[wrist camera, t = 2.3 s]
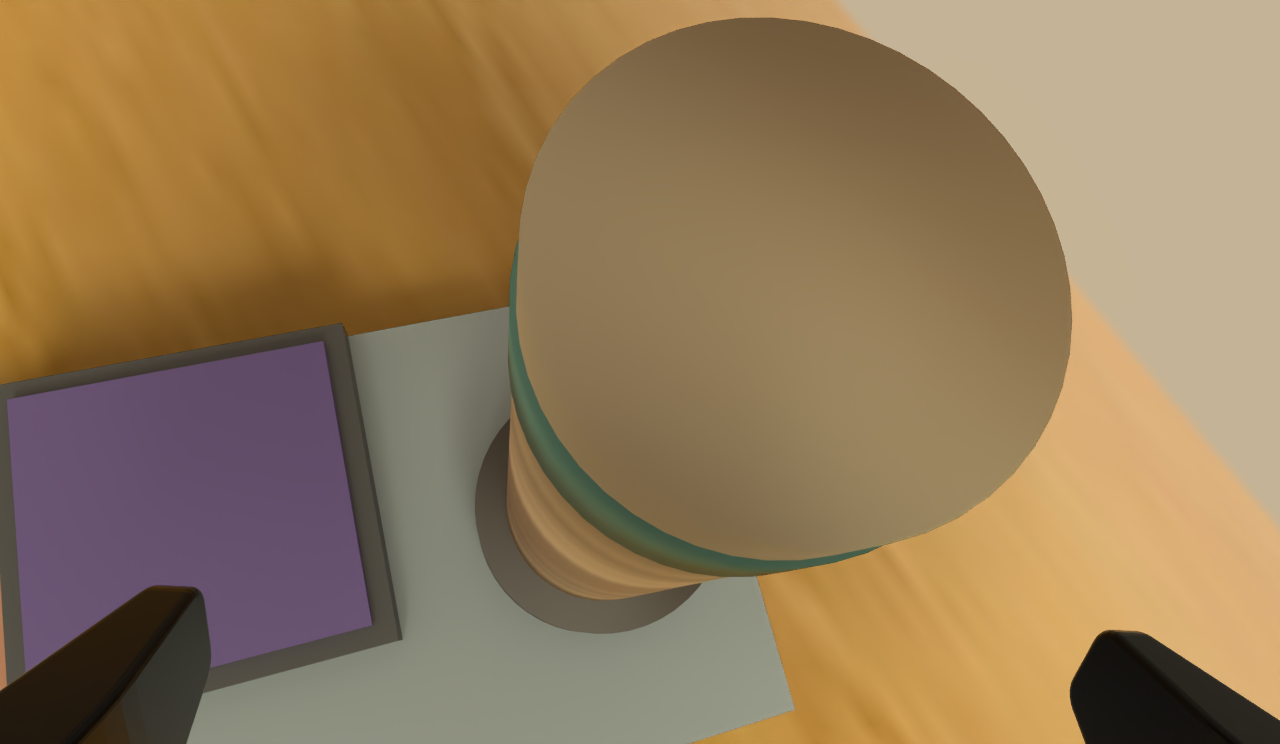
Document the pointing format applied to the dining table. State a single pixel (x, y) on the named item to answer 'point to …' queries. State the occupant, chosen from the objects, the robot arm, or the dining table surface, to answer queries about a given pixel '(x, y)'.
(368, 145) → the dining table surface
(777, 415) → the stamp
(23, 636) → the stamp board
